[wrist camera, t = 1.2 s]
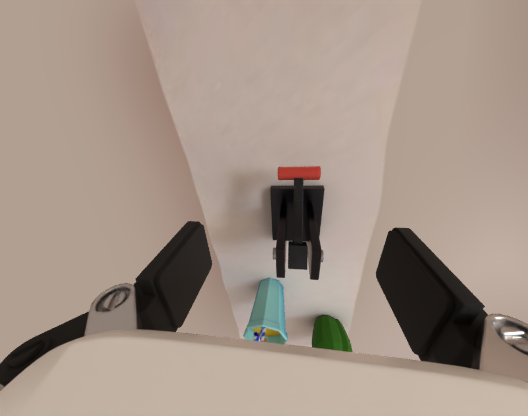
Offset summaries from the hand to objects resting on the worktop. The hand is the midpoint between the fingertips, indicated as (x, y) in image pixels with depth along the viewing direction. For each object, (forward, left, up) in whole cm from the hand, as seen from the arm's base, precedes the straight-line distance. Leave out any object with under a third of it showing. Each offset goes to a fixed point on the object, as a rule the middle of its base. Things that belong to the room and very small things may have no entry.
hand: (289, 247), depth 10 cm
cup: (+28, -4, -20) cm, 35 cm away
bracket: (+10, +1, -20) cm, 23 cm away
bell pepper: (+40, +9, -20) cm, 46 cm away
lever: (+6, +1, -14) cm, 15 cm away
